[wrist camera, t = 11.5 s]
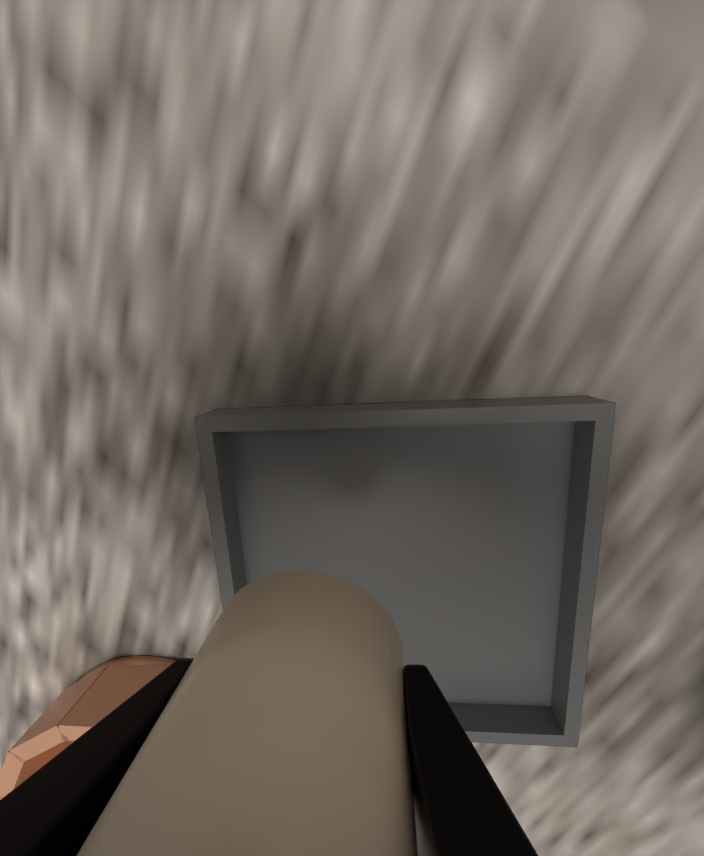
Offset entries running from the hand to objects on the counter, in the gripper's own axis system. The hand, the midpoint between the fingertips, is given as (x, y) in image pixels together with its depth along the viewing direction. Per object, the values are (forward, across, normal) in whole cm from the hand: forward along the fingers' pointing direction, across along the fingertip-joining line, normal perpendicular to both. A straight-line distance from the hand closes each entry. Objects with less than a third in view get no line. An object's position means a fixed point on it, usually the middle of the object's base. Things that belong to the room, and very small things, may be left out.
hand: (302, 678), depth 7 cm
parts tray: (+9, -2, +4) cm, 10 cm away
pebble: (0, 0, 0) cm, 0 cm away
